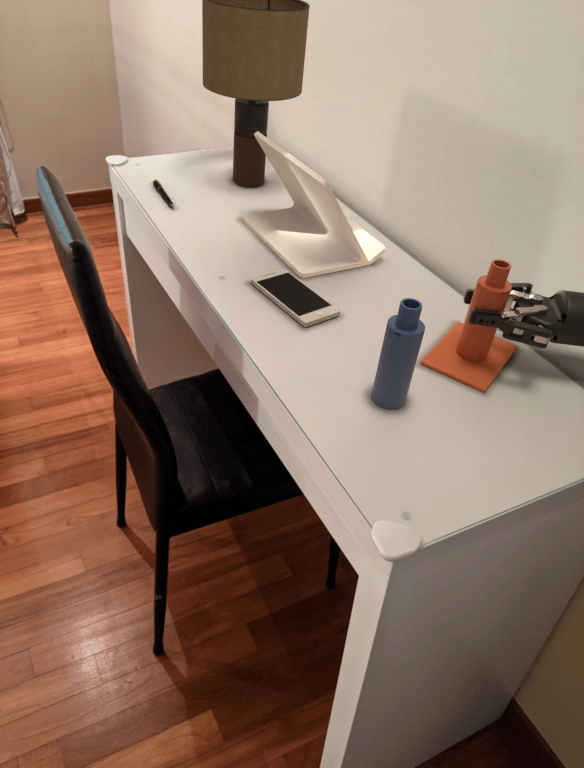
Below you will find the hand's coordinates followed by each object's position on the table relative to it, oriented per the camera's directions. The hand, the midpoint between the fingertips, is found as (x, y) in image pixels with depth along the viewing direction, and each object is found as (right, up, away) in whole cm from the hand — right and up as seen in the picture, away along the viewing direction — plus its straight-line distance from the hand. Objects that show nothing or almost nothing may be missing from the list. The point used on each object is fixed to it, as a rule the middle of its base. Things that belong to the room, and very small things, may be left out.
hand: (468, 305), depth 87 cm
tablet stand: (-22, +17, +31) cm, 41 cm away
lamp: (-35, +34, +50) cm, 70 cm away
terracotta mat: (+2, -7, +5) cm, 9 cm away
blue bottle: (-12, -13, -4) cm, 18 cm away
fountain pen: (-52, +28, +40) cm, 71 cm away
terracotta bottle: (+2, -6, +5) cm, 8 cm away
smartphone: (-25, +3, +14) cm, 28 cm away
